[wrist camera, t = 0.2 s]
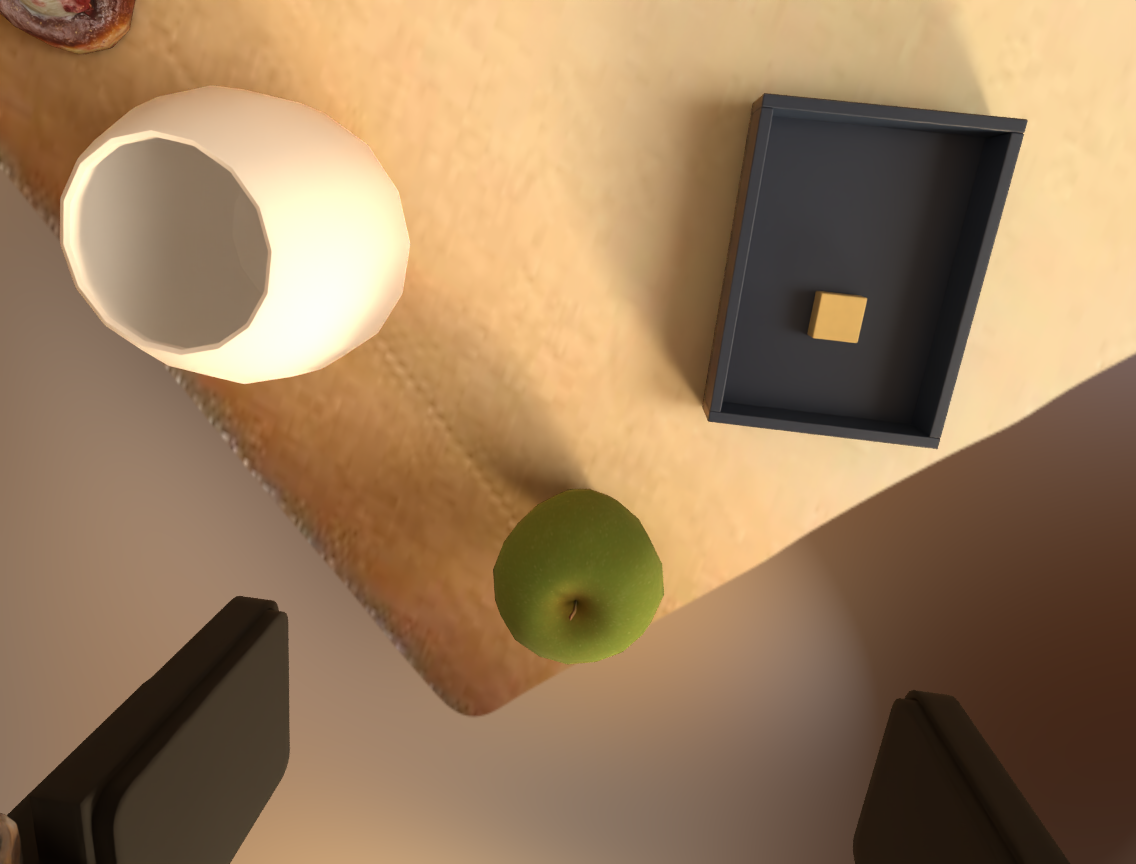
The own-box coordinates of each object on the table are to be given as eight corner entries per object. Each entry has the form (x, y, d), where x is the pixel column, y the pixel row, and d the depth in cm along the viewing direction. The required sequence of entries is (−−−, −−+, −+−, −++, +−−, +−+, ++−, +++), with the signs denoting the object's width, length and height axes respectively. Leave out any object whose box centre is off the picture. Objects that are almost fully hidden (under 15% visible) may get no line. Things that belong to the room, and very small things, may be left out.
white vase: (327, 398, 42) (197, 477, 30) (156, 232, 40) (-64, 239, 27) (479, 243, 39) (407, 255, 26) (301, 52, 37) (128, -35, 24)
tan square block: (815, 290, 38) (821, 292, 37) (860, 295, 38) (868, 297, 37) (806, 334, 39) (812, 338, 37) (850, 339, 38) (857, 343, 37)
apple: (522, 582, 45) (489, 700, 34) (509, 457, 43) (468, 541, 32) (659, 578, 44) (670, 697, 33) (653, 450, 42) (663, 533, 31)
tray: (752, 102, 36) (763, 92, 33) (995, 127, 35) (1028, 119, 33) (702, 407, 41) (707, 421, 38) (915, 432, 40) (937, 449, 37)
